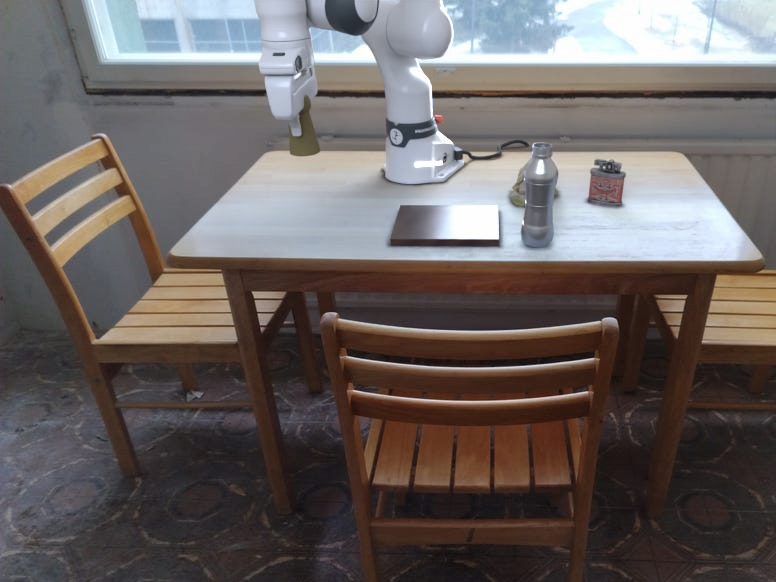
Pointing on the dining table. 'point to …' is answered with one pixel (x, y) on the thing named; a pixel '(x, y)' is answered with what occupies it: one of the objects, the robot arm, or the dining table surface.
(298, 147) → the olive tapered cylinder
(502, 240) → the dining table surface
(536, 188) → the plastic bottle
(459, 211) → the walnut board
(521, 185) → the ceramic model
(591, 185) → the lighter
